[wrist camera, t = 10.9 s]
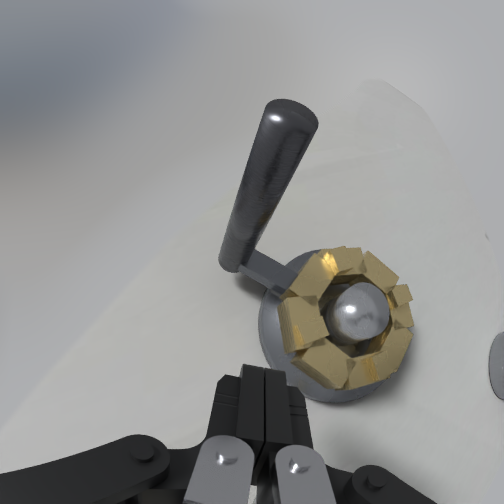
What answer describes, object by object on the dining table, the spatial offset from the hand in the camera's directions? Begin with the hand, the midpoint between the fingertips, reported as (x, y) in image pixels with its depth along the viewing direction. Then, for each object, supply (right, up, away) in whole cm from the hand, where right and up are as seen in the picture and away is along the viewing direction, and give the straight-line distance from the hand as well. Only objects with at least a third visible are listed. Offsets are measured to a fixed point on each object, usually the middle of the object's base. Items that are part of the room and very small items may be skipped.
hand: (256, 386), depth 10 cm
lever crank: (+5, +1, +14) cm, 14 cm away
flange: (+7, -1, +15) cm, 16 cm away
